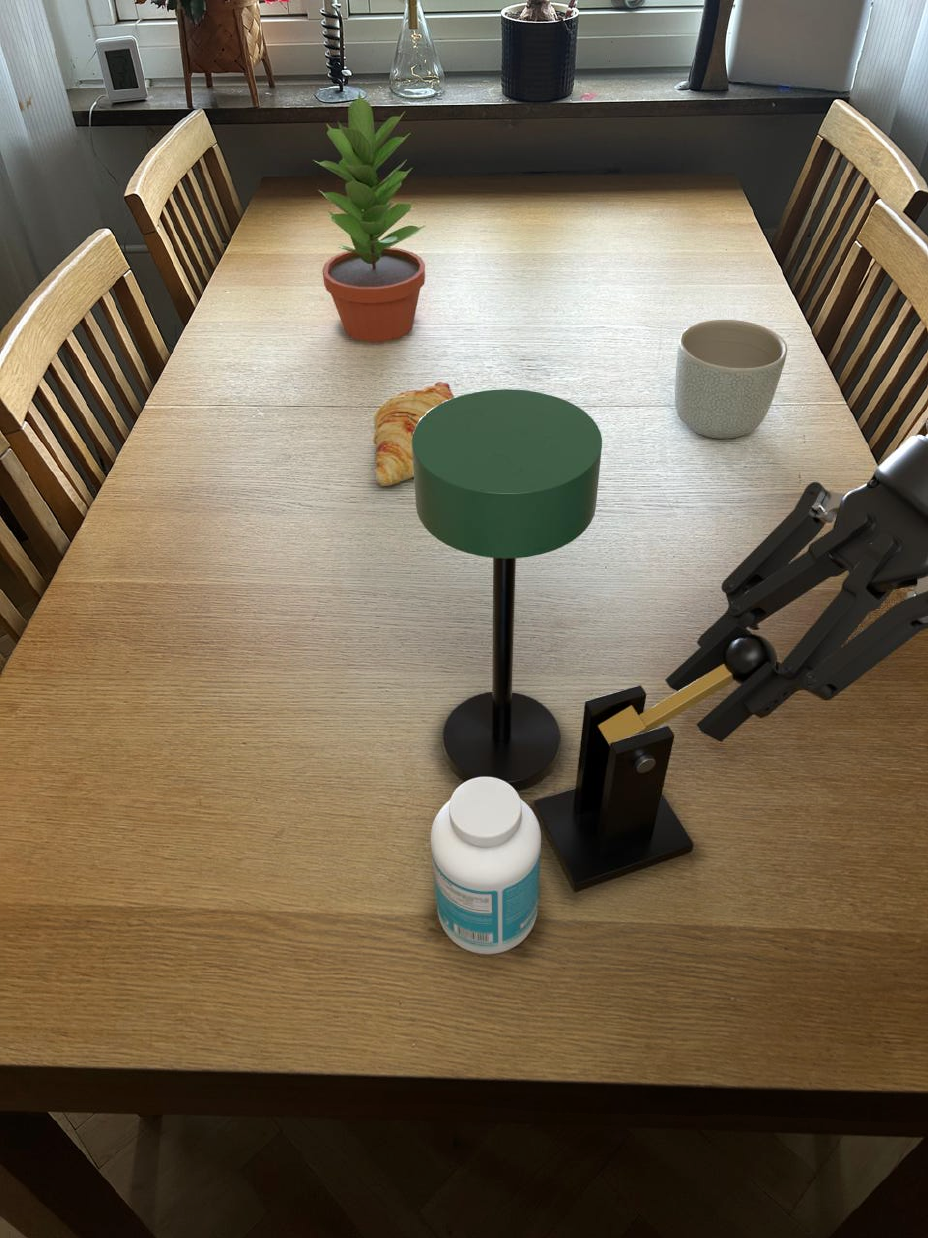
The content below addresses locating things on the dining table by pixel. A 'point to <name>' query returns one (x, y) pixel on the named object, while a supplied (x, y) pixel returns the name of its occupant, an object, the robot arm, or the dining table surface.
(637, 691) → the switch bracket
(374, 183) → the potted plant
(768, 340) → the planter
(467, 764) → the desk lamp
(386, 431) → the croissant
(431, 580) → the dining table surface
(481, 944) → the pill bottle
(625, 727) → the lamp switch
